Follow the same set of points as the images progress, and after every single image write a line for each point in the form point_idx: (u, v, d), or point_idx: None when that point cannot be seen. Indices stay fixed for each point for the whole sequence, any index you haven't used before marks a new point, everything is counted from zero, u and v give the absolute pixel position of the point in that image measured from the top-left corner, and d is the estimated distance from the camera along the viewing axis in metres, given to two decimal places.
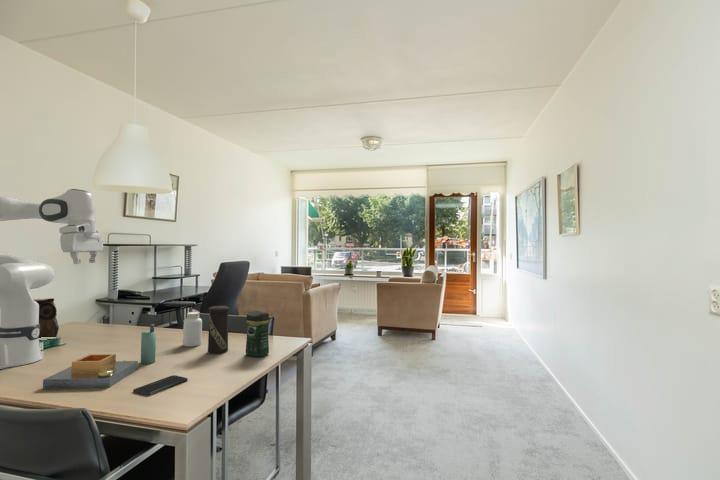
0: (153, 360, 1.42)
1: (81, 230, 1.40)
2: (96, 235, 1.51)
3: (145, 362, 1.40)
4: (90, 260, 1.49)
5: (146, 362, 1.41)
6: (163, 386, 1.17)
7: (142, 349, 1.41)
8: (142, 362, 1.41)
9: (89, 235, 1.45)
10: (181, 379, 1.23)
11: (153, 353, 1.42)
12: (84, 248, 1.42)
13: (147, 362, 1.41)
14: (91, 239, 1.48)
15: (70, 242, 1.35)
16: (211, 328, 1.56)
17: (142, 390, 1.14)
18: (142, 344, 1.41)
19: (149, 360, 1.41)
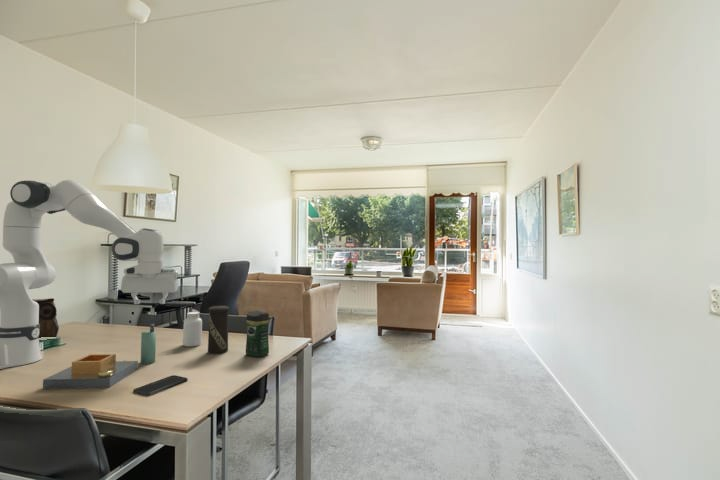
0: (153, 360, 1.42)
1: (130, 272, 1.40)
2: (163, 275, 1.43)
3: (145, 362, 1.40)
4: None
5: (146, 362, 1.41)
6: (163, 386, 1.17)
7: (142, 349, 1.41)
8: (142, 362, 1.41)
9: (144, 276, 1.41)
10: (181, 379, 1.23)
11: (153, 353, 1.42)
12: (140, 290, 1.41)
13: (147, 362, 1.41)
14: (155, 280, 1.42)
15: None
16: (211, 328, 1.56)
17: (142, 390, 1.13)
18: (142, 344, 1.41)
19: (149, 360, 1.41)
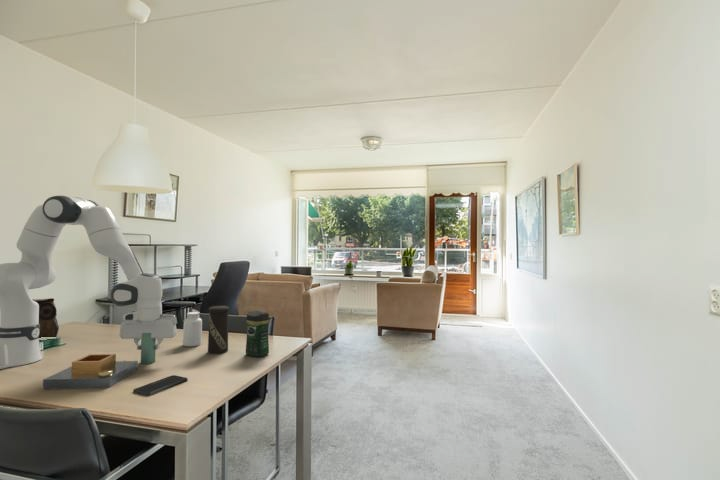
0: (153, 360, 1.42)
1: (129, 318, 1.39)
2: (162, 321, 1.42)
3: (145, 362, 1.40)
4: None
5: (146, 362, 1.41)
6: (163, 386, 1.17)
7: (142, 349, 1.41)
8: (142, 362, 1.41)
9: (142, 323, 1.40)
10: (181, 379, 1.23)
11: (153, 353, 1.42)
12: (138, 336, 1.41)
13: (147, 362, 1.41)
14: (154, 325, 1.42)
15: None
16: (211, 328, 1.56)
17: (142, 390, 1.13)
18: (142, 344, 1.41)
19: (149, 360, 1.41)
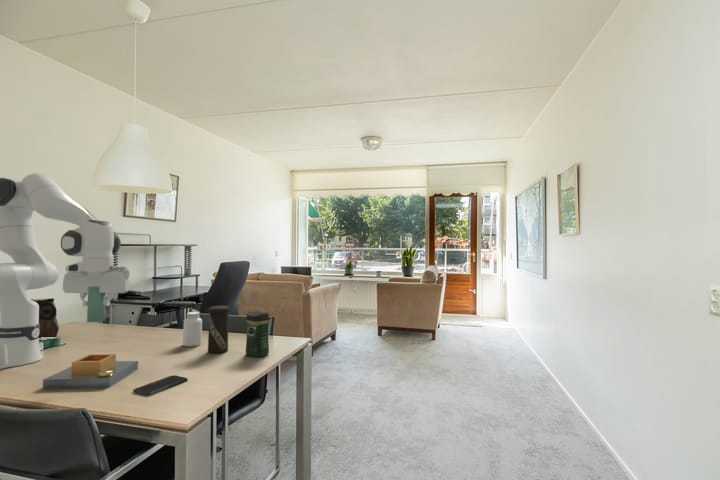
0: (102, 318, 1.25)
1: (73, 269, 1.22)
2: (111, 273, 1.25)
3: (92, 320, 1.23)
4: None
5: (93, 320, 1.23)
6: (163, 386, 1.17)
7: (88, 305, 1.23)
8: (88, 320, 1.23)
9: (89, 275, 1.23)
10: (181, 379, 1.23)
11: (102, 310, 1.25)
12: (84, 290, 1.24)
13: (94, 319, 1.23)
14: (102, 278, 1.25)
15: None
16: (211, 328, 1.56)
17: (142, 390, 1.13)
18: (88, 299, 1.23)
19: (96, 317, 1.24)
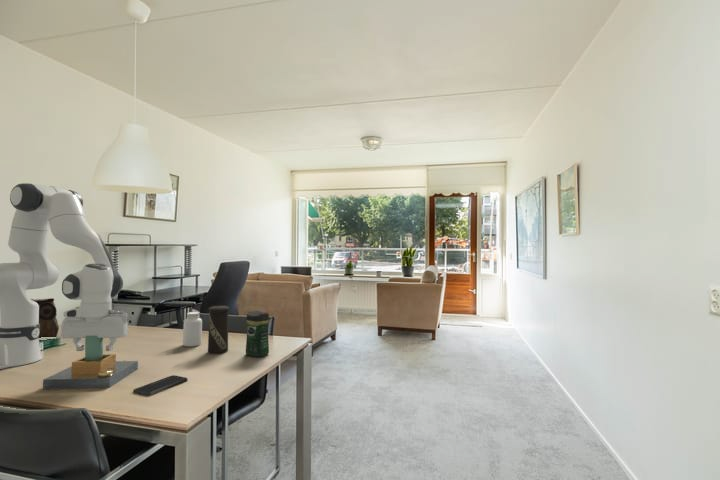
0: None
1: (71, 315, 1.22)
2: (110, 318, 1.24)
3: None
4: None
5: None
6: (163, 386, 1.17)
7: (86, 354, 1.23)
8: None
9: (87, 320, 1.22)
10: (181, 379, 1.23)
11: (99, 359, 1.24)
12: (83, 335, 1.23)
13: None
14: (100, 323, 1.24)
15: None
16: (211, 328, 1.56)
17: (142, 390, 1.13)
18: (86, 349, 1.23)
19: None
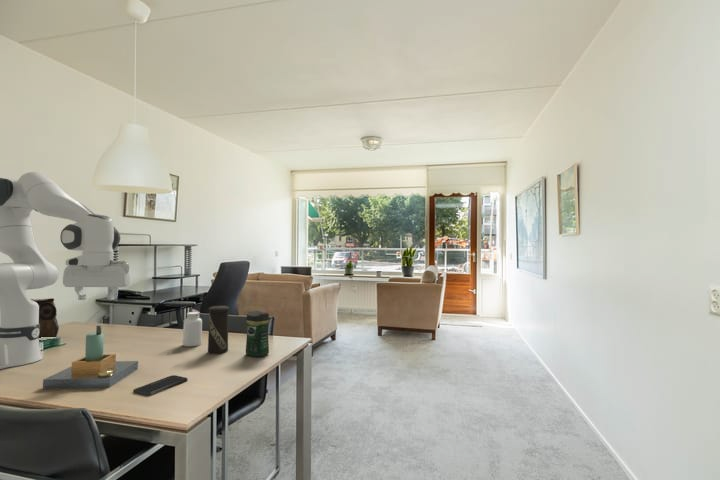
0: None
1: (73, 263, 1.22)
2: (111, 268, 1.25)
3: None
4: None
5: None
6: (163, 386, 1.17)
7: (86, 354, 1.23)
8: None
9: (89, 268, 1.23)
10: (181, 379, 1.23)
11: (100, 359, 1.25)
12: (84, 284, 1.24)
13: None
14: (102, 272, 1.25)
15: None
16: (211, 328, 1.56)
17: (142, 390, 1.13)
18: (86, 348, 1.23)
19: None
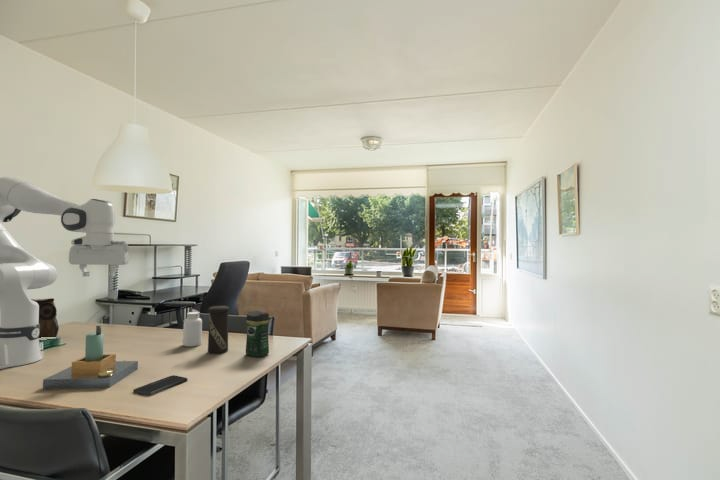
0: None
1: (78, 243, 1.36)
2: (112, 247, 1.39)
3: None
4: None
5: None
6: (163, 386, 1.17)
7: (86, 354, 1.23)
8: None
9: (92, 248, 1.37)
10: (181, 379, 1.23)
11: (100, 359, 1.25)
12: (88, 261, 1.38)
13: None
14: (104, 251, 1.39)
15: None
16: (211, 328, 1.56)
17: (142, 390, 1.13)
18: (86, 348, 1.23)
19: None
